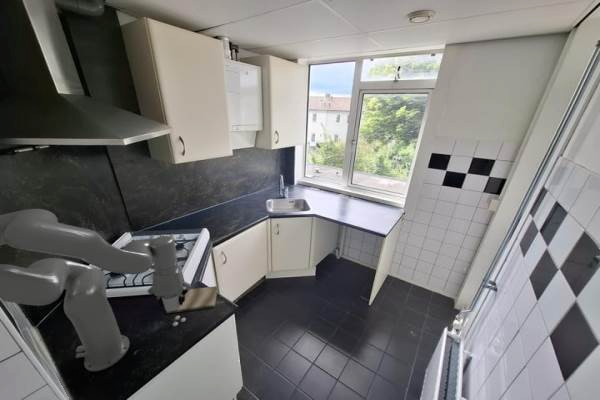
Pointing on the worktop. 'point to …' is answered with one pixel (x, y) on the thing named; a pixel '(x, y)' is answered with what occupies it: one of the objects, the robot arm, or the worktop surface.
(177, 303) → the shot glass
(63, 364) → the worktop surface
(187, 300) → the birch board
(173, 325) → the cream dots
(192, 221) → the worktop surface
